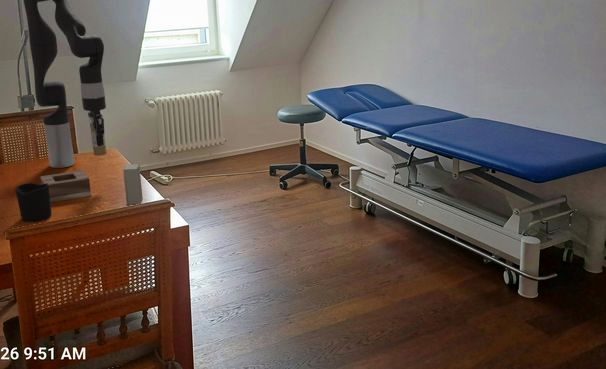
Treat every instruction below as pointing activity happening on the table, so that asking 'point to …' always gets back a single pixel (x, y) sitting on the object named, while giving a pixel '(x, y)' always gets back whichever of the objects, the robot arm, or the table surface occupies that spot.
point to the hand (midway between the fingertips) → (98, 143)
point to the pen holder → (33, 201)
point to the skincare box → (132, 184)
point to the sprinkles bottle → (97, 149)
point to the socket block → (67, 185)
